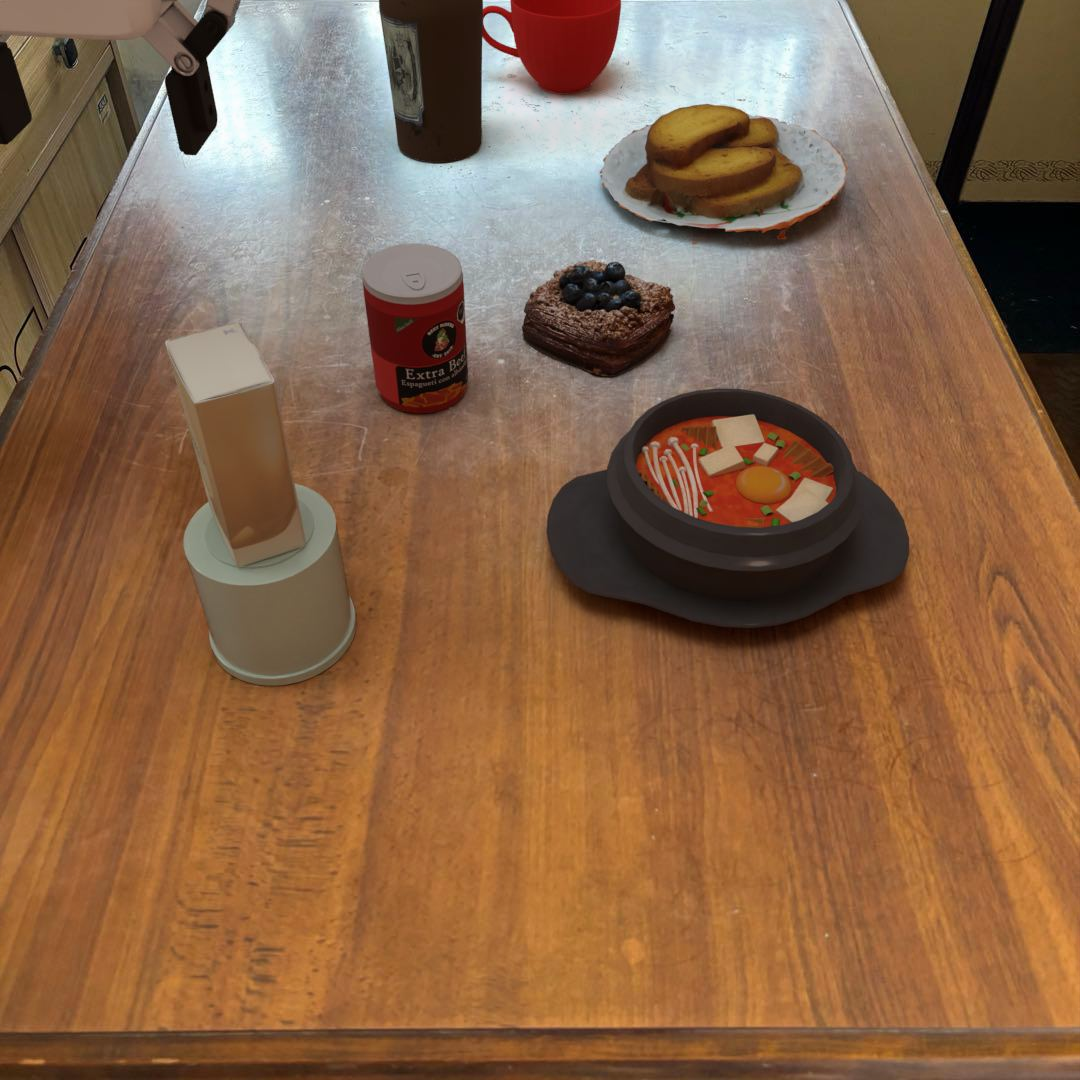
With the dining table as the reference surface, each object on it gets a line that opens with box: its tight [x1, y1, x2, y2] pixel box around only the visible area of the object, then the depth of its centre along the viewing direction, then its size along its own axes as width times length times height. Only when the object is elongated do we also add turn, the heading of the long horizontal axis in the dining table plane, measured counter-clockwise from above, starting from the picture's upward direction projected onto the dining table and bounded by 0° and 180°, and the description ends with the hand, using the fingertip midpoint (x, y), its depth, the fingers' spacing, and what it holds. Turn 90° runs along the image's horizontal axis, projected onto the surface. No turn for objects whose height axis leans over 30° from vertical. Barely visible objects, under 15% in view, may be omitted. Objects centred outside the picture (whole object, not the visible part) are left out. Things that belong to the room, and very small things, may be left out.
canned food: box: [361, 243, 469, 414], centre depth 87 cm, size 8×8×11 cm
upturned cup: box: [182, 483, 357, 687], centre depth 69 cm, size 9×9×9 cm
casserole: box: [546, 387, 910, 629], centre depth 75 cm, size 25×19×8 cm
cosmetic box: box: [164, 321, 306, 567], centre depth 62 cm, size 6×4×12 cm
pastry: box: [521, 259, 676, 377], centre depth 95 cm, size 11×12×6 cm
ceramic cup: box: [482, 0, 622, 95], centre depth 132 cm, size 13×17×10 cm
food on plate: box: [599, 103, 849, 245], centre depth 114 cm, size 25×25×7 cm
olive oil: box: [378, 0, 484, 163], centre depth 115 cm, size 11×11×25 cm
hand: (105, 138), depth 57 cm, fingers open, 9 cm apart
